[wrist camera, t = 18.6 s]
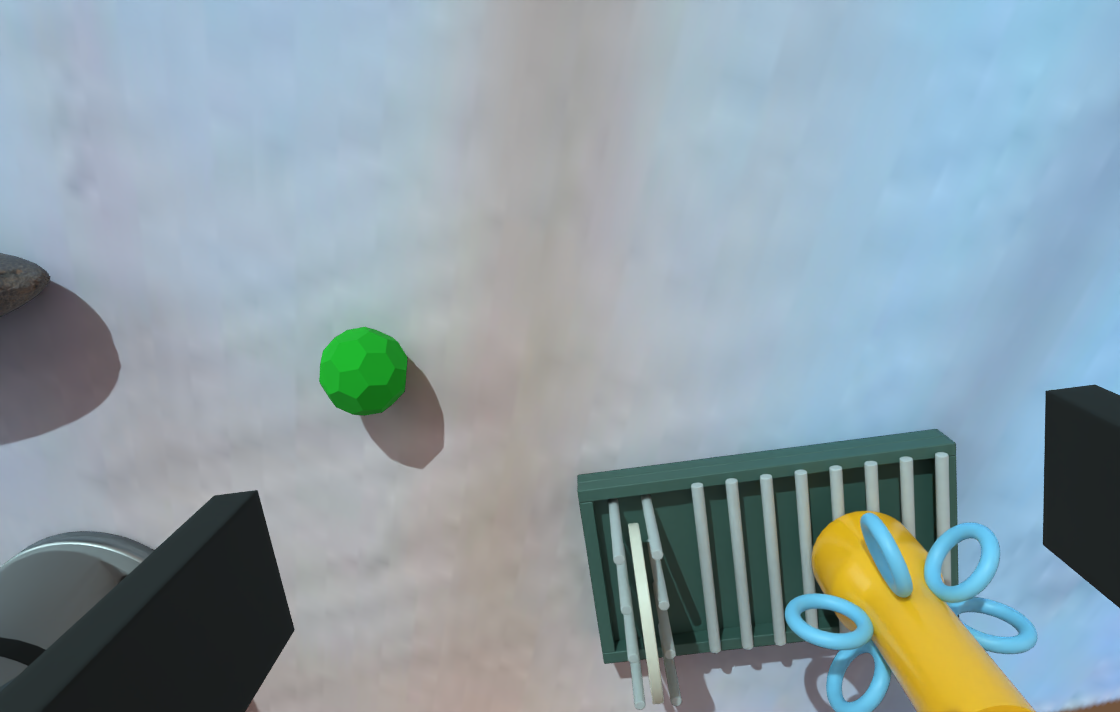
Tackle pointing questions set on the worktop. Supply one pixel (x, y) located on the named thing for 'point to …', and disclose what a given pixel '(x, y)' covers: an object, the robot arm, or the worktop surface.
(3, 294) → the perforated stone tool
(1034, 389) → the worktop surface
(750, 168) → the worktop surface
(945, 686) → the cylinder
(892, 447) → the dish rack
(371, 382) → the polyhedron
